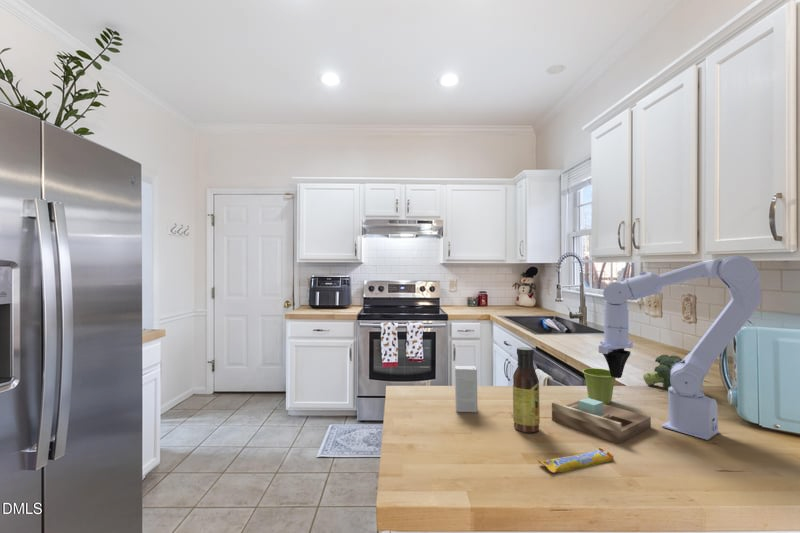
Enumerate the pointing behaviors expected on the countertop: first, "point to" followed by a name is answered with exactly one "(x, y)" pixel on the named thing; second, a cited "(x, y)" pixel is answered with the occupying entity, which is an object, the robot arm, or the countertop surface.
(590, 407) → the block
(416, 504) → the countertop surface
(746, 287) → the robot arm
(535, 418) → the sauce bottle
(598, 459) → the candy bar
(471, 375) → the skincare box
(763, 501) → the countertop surface
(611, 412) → the tray
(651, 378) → the vegetable
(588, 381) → the plant pot
